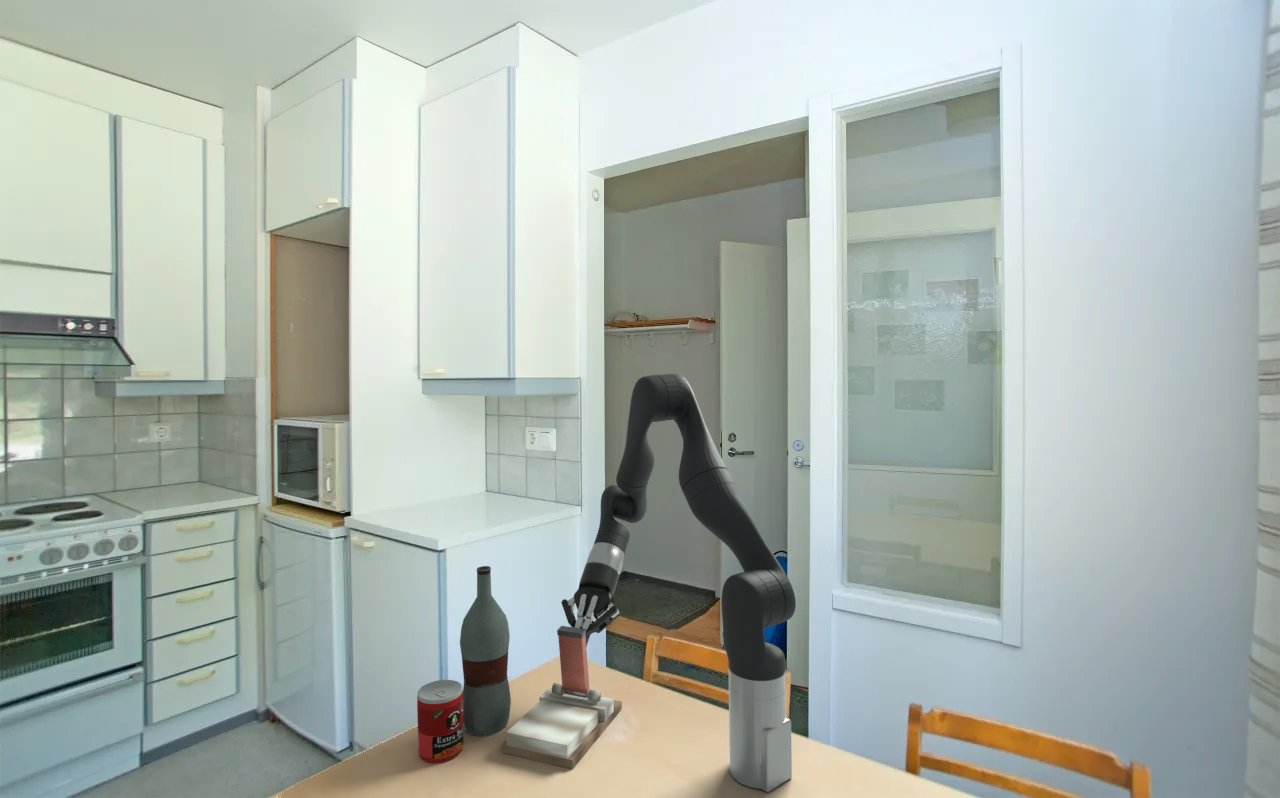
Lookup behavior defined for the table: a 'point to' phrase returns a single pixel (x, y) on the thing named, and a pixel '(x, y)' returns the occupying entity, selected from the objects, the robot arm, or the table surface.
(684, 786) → the table surface
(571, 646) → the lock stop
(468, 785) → the table surface
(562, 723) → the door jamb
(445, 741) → the canned food
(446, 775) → the table surface
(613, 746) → the table surface
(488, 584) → the bottle
